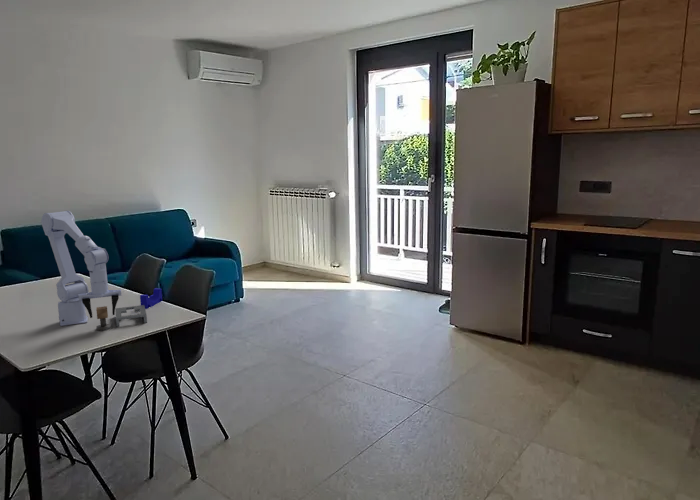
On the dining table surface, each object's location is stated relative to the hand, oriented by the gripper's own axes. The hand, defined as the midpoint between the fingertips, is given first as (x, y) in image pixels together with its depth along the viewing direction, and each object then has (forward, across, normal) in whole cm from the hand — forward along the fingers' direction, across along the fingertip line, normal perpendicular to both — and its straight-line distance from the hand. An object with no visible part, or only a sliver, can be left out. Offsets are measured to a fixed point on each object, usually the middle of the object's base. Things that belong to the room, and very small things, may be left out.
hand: (102, 315), depth 193 cm
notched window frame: (+5, +10, +7) cm, 13 cm away
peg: (+5, 0, 0) cm, 5 cm away
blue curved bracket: (+6, +18, +26) cm, 32 cm away
